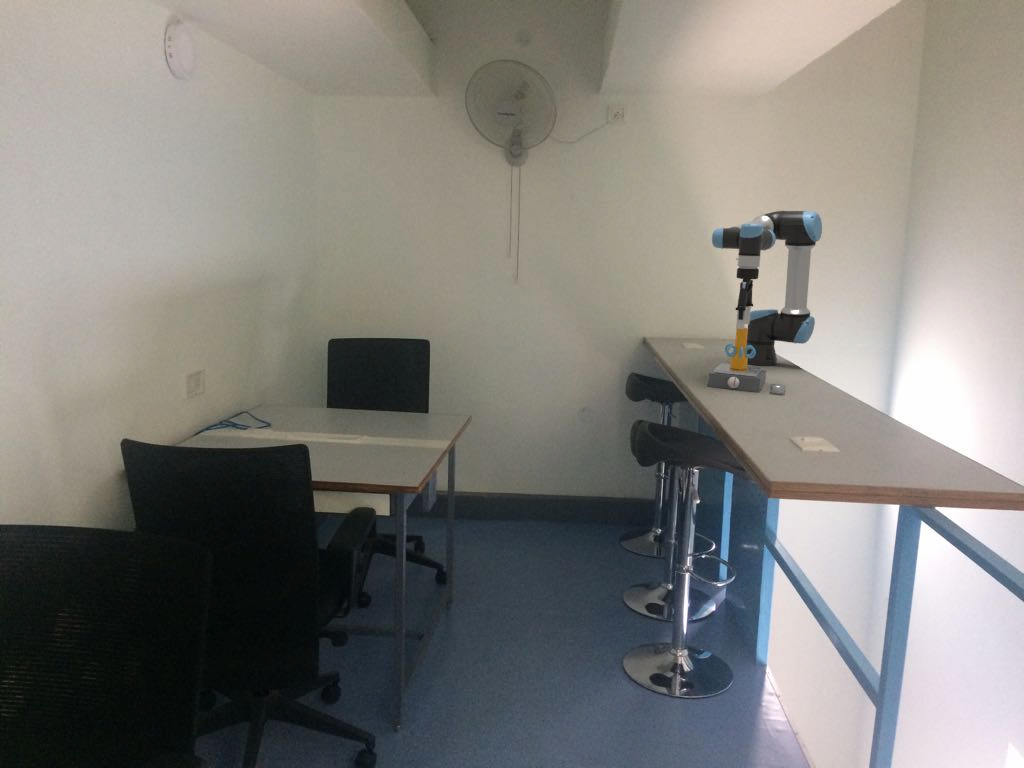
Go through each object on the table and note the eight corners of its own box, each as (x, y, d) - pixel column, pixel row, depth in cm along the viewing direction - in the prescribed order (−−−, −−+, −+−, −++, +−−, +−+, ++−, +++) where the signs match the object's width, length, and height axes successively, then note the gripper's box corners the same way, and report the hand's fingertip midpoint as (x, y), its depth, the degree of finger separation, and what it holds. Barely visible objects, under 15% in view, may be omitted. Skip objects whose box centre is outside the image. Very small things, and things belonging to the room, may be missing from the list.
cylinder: (755, 372, 269) (759, 331, 266) (725, 370, 271) (729, 329, 268) (751, 366, 281) (755, 326, 278) (722, 364, 283) (726, 325, 280)
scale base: (716, 378, 289) (717, 365, 288) (764, 383, 282) (766, 370, 281) (707, 386, 272) (708, 373, 271) (758, 392, 265) (760, 379, 264)
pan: (719, 376, 287) (721, 363, 286) (760, 380, 281) (762, 367, 280) (712, 382, 274) (714, 369, 272) (755, 387, 267) (756, 374, 266)
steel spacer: (770, 391, 268) (771, 383, 268) (785, 393, 266) (786, 385, 266) (769, 394, 264) (769, 385, 263) (783, 395, 262) (784, 387, 261)
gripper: (742, 265, 281) (737, 321, 286) (731, 269, 259) (726, 329, 264) (763, 266, 278) (757, 322, 283) (754, 270, 256) (748, 331, 261)
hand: (742, 326), depth 273 cm, fingers open, 13 cm apart
